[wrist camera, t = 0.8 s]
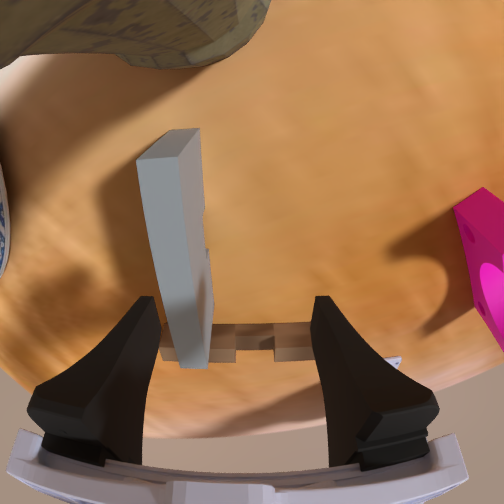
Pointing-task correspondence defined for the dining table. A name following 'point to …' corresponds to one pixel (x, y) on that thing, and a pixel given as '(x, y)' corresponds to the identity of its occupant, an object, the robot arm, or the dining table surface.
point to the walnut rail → (250, 341)
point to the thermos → (130, 29)
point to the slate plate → (179, 240)
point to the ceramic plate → (4, 225)
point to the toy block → (485, 255)
